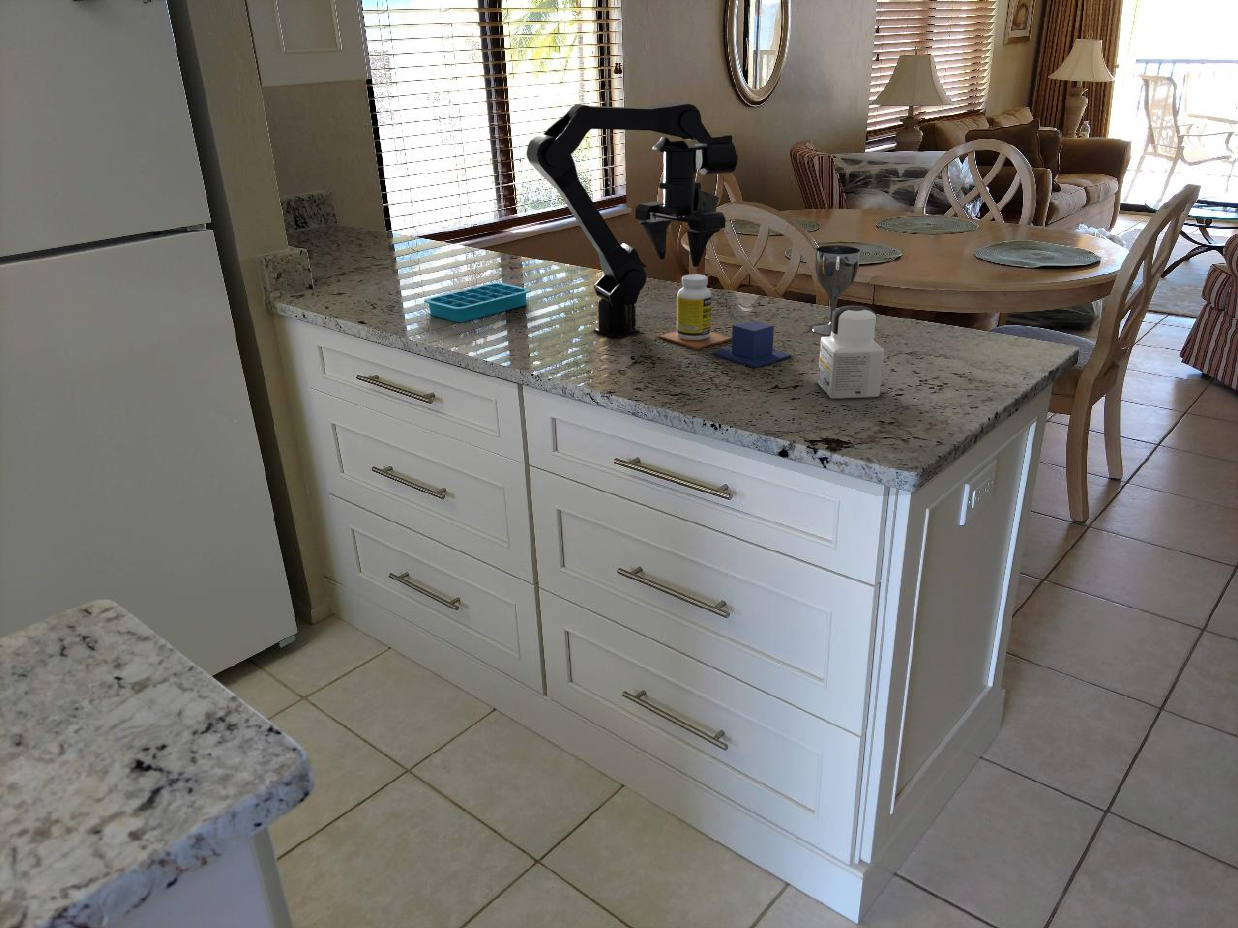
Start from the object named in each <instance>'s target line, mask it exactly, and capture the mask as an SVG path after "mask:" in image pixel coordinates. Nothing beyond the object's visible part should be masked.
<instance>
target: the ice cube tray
mask: <svg viewBox="0 0 1238 928" xmlns="http://www.w3.org/2000/svg"><path fill="white" fill-rule="evenodd" d="M531 292H532V290H531V288H527V287H522V286H517V285H513V284H508V283H504V282H490V283H486V284H481V285H477V286H473V287H469V288H466V289H460V290H457V291H456V290H455V291H452V292H448V293H444V294H441V295H435V296H432V297H428V298H424V299H423V302H424V303H425V304H428V306H429V307H428V308H429V312H430V315H431V316H433V317H438V318H440V319H444V320H448V321H452V322H456V323H463V322H469V321H472V320H476V319H481V318H483V317H484V318H485V317H488V316H491V315H495V314H498V313H501V312H505V311H509V310H513V309H517V308H520V307H524V306H526V305H527V294H530V293H531Z"/></svg>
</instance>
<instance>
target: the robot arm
mask: <svg viewBox="0 0 1238 928" xmlns="http://www.w3.org/2000/svg"><path fill="white" fill-rule="evenodd" d="M591 130H612V131H614V130H616V131H648V132H649V131H650V132H653V133H658V134H662V135H667V136H672V137H675V138H680V139H681V140H670V139H669V138H668V137H665V136H661V137H660V139H659V141H658V142H657V143H656V144H654V145H653V146H652V150H653V151H655V152H660V153H663V181H662V182H659V183H658V187H659V188H658V189H660V190H663V202H662V201H657V200H656V201H650V202H641V203H638V204H637V206H636V208H635V210H634V213H635V215H634V216H635V217H634V219H635V220H638V221H639V225H640V226H642V227H643V229H644V230H645V233H646V235H647V236H648V238H649V240H650V242H651V245H652V246H653V249H654V250H655V253H656V255H657V257H658V259H659V260H665V258H666V254H667V253H666V252H667V233H668V232H667V231H668V228H669V226H670V224H671V223H672V221H676V222H681V223H686V224H687V226H688V228H689V230H687V231H686V235H687V240H688V241H687V242H688V247H689V254H690V260H691V263H692V267H694V268H698V267H699V265H700V263H701V261H702V258H703V255H704V253H705V250H706V248H707V244H708V243H709V241H710V239H711V238H712V237H713V235H714V234H716V233H720V231H721V229H726V222H727V221H726V215H725V214H724V212H722V211H717V208H718V205H719V200H720V196H717V195H715V194H712V193H710V192H707V191H703V190H702V184H701V181H696V179H697V178H696V176H697V174H696V172H697V171H696V170H698V172H699V174H701V175H702V176H709V175H711V176H712V175H724V174H725V175H726V174H733V173H734V172H735V170H736V169H737V166H738V158H739V156H738V154H737V149H736V146H735V143H734V142H733V135H731V134H727V133H726V134H720V135H712V136H711V134H710V132H708V130H707V127H706V125H704V124H703V121H702V114H701V112H700V110H699V109H698V107H697V106H696V105H695V104H691V103H686V102H678V101H677V102H676V101H671V102H666V103H665V102H664V103H660V104H655V105H652V106H647V107H629V106H628V107H627V106H600V105H599V106H597V105H587V104H581V103H577V104H574V105H573V106H571V107H570V108H569V110H568V111H567V112H565V114H564V115H563V116H561V117H560V118H559V119H558V120H556V121H555V122H554V123H553V124H551V126H549V127H548V128H547V129H545V131H544V132H543V133H542V134H537V135H536V136H534V137H533V138H532V139H530V140H529V143H528V145H527V148H526V152H525V153H526V158H527V161H528V162H529V163H530V165H531V166H532V167H533V168H534V169H535V170H536V172H538V173H539V174H540V175H541V176H542V178H543V179H545V181H547V182H548V183H549V184H550V185H551V186H552V187H553V188H554V189H555V190H556V191H557V193H558V194H559V196H560V197H561V198H562V200H563V202H564V203H565V205H566V206H567V208H568V209H569V211H570V212H571V214H572V215H573V217H574V219H575V220H576V222H577V223H578V226H580V228H581V229H582V231H583V233H585V235H586V237H587V239H588V240H589V242H590V243H591V245H592V246H593V247H594V249H595V251H596V253H597V254H598V259H599V264H600V268H601V270H602V272H603V275H601V277H599V279H598V280H597V281H596V282H595V284H594V285H593V289H594V293H595V294H596V296H597V297H599V298H600V300H598V301H597V307H598V308H597V312H598V313H597V315H598V316H597V317H598V318H597V319H598V321H597V322H598V327H594V328H593V329H592V330H593V332H594V333H597V334H600V335H603V336H606V337H610V338H613V339H617V338H621V337H625V336H630V335H633V334H634V335H635V334H638V333H640V332H641V330H640V328H637V327H636V326H637V325H636V324H637V323H636V321H637V318H636V316H637V313H636V311H637V310H636V304H637V303H638V299H639V297H640V293H641V291H642V290H643V289H644V287H645V285H646V282H647V279H648V274H647V272H646V269H645V268H647V267H648V266H647V264H645V263H643V261H642V259H641V258H640V255H639V253H638V251H637V249H636V248H635V247H632V246H630V245H628V244H626V243H624V242H622V243H619V241H618V239H617V238H616V236H615V235H614V233H613V231H612V230H611V228H610V227H609V225H608V224H607V222H606V220H605V219H604V217H603V215H602V214H601V213H600V211H599V208H598V207H597V206H596V205H595V203H594V201H593V199H592V198H591V197H590V195H589V193H588V192H587V190H586V189H585V187H584V185H583V184H582V182H581V181H580V179H579V175H578V170H577V166H576V163H575V161H574V158H573V156H572V155H573V153H574V152H575V151H576V150H577V149H578V148H579V147H580V145H581V144H582V142H583V140H584V139H585V137H586V135H588V133H589V132H590V131H591ZM686 141H687V142H692V143H695V145H688V143H687V142H686Z"/></svg>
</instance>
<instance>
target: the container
mask: <svg viewBox="0 0 1238 928" xmlns="http://www.w3.org/2000/svg"><path fill="white" fill-rule="evenodd" d="M877 318H878V314H877V312H876V311H875V310H873V309H871V308H869V307H867V306H862V305H843V306H840V307H836V310H835V311H834V312H833V315H832V327H831V335H827V336H821V338H820V345H819V347H820V348H819V360H818V371H817V384H819V386H820V387H821V389H822V390H823V391H824V392H825V393H826V394H827V396H828V397H829V398H830V399H832V400H837V399H860V398H861V399H863V398H878V397H880V395H881V388H882V387H881V386H882V378H883V377H882V376H883V368H884V357H885V349H884V348H883V347H882V346H881V345H880V344H878V343H877V342H876V341H875V338H876V329H877V321H878V320H877Z"/></svg>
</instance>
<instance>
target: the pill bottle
mask: <svg viewBox="0 0 1238 928" xmlns="http://www.w3.org/2000/svg"><path fill="white" fill-rule="evenodd" d="M708 284H709V277H708V276H707V275H705V274H698V273H692V274H685V275H682V276H681V286H682V287H681V288H680V289H678V290H677V293H676V294H677V296H676V302H677V303H676V331H677V336H678V337H679V338H681V339H685V340H703V339H706V338H708V337H709V336H710V332H711V326H712V325H711V324H712V323H711V322H712V291H711V289H709V288H708V287H707V286H708Z"/></svg>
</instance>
